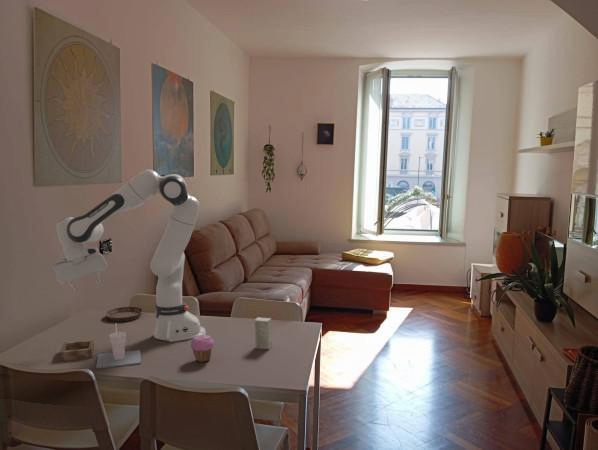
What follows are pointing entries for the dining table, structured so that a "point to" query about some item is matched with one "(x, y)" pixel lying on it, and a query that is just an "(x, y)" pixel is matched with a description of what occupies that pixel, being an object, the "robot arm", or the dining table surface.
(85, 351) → the walnut holder
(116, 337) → the smoothie
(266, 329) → the skincare box
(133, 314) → the plant saucer
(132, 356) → the slate mat
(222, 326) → the dining table surface
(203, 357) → the cupcake
